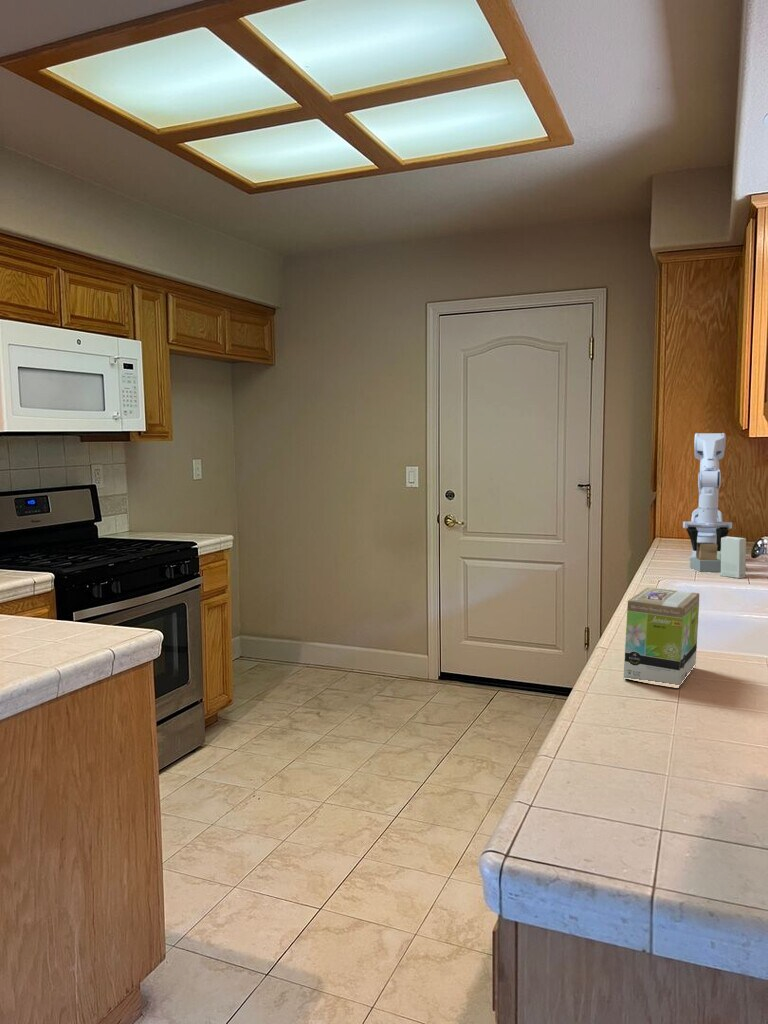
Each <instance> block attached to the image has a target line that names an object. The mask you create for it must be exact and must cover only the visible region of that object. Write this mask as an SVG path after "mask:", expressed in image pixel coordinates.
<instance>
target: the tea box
mask: <svg viewBox="0 0 768 1024" xmlns="http://www.w3.org/2000/svg"><path fill="white" fill-rule="evenodd" d="M626 610H627V611H626V612H627V613H626V627H625V645H624V663H623V664H624V665H623V679H624V678H631V679H639V680H648V681H655V682H662V683H669V684H675V685H680V684H681V683H682V681H683V680H684V679H685V677H686V676H687V674H688V673H689V672H690V671H691V669H692V668H693V666H694V665H695V664H697V649H698V647H697V646H698V628H699V611H700V593H698V592H691V591H682V590H673V589H663V588H657V587H656V588H655V587H646V588H645V589H643V590H641V591H640V592H638V593H637V594H636V595H634V596H633V597H631V598H630V599H628V600H627V608H626ZM695 666H696V665H695Z"/></svg>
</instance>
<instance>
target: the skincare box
mask: <svg viewBox="0 0 768 1024" xmlns="http://www.w3.org/2000/svg"><path fill="white" fill-rule="evenodd" d="M720 552H721V572H720V576H721V577H727V578H733V579H734V578H736V579H743V578H746V570H747V569H746V568H747V567H746V563H747V562H746V561H747V554H746V552H747V538H746V537H736V536H728V535H726V537H722V538H721V550H720Z"/></svg>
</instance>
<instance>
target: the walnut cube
mask: <svg viewBox="0 0 768 1024" xmlns="http://www.w3.org/2000/svg"><path fill="white" fill-rule="evenodd" d="M717 552H718V551H717V544H715V543H708V542H697V551H696V558H697V559H699V560H717Z"/></svg>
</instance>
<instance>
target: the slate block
mask: <svg viewBox="0 0 768 1024" xmlns="http://www.w3.org/2000/svg"><path fill="white" fill-rule="evenodd" d="M689 557H690V558H689V560H690V561H689V563H690V564H689V569H690V568H691V569H690V570H692V569H694V570H693V571H695V570H697V571H699V572H711V573H721V560H719V559H717V560H699V559H697V558H696V557H692V556H689ZM697 571H696V572H697ZM699 572H698V573H699Z"/></svg>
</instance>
